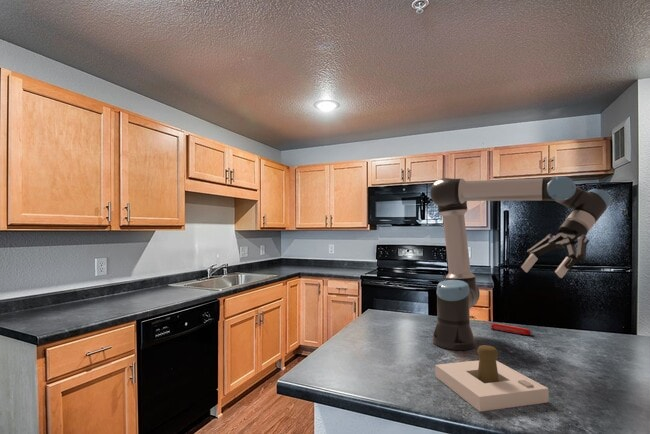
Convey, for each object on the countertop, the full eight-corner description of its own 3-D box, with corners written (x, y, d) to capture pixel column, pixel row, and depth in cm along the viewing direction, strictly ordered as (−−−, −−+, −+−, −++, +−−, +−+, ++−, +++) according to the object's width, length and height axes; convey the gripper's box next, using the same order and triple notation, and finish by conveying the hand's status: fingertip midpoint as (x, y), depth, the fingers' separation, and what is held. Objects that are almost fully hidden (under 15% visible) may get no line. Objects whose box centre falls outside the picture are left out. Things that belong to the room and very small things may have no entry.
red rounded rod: (532, 335, 143) (532, 328, 143) (531, 337, 140) (530, 330, 140) (491, 328, 153) (491, 321, 153) (488, 329, 150) (488, 323, 150)
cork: (503, 393, 91) (502, 351, 91) (478, 390, 92) (478, 349, 93) (496, 383, 97) (496, 343, 97) (474, 381, 98) (473, 342, 99)
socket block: (435, 376, 102) (435, 363, 103) (493, 370, 107) (493, 357, 107) (479, 411, 83) (479, 394, 83) (548, 402, 87) (548, 386, 87)
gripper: (621, 235, 105) (582, 286, 102) (551, 233, 130) (518, 274, 126) (607, 217, 104) (567, 268, 101) (539, 219, 129) (505, 260, 125)
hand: (540, 272), depth 113 cm, fingers open, 13 cm apart
